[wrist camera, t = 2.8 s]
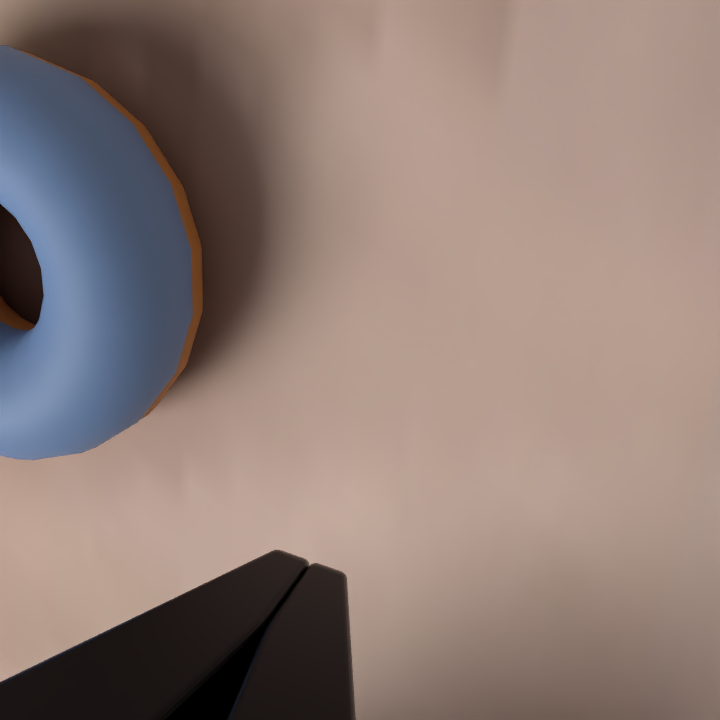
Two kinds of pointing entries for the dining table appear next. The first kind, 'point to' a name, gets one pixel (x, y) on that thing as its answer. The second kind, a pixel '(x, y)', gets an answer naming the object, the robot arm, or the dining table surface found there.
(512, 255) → the dining table surface
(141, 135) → the doughnut
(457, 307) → the dining table surface
